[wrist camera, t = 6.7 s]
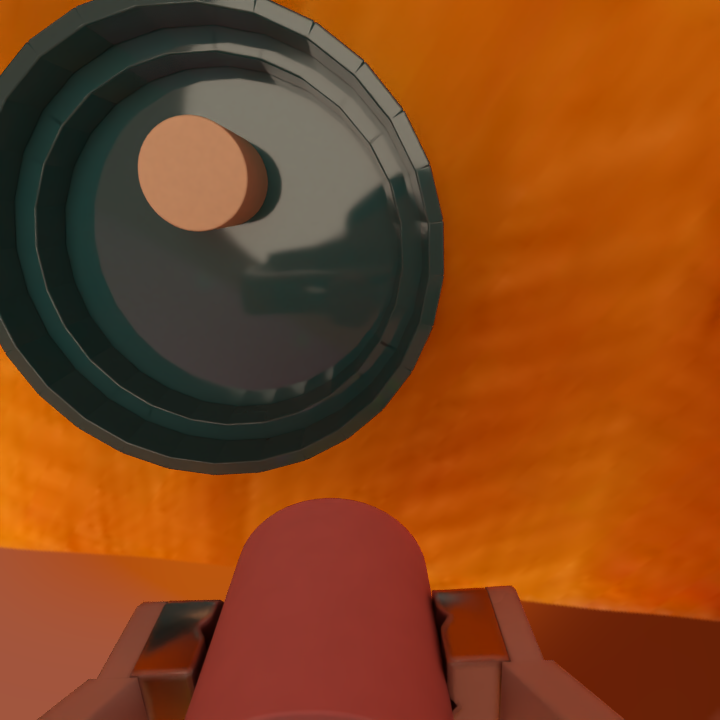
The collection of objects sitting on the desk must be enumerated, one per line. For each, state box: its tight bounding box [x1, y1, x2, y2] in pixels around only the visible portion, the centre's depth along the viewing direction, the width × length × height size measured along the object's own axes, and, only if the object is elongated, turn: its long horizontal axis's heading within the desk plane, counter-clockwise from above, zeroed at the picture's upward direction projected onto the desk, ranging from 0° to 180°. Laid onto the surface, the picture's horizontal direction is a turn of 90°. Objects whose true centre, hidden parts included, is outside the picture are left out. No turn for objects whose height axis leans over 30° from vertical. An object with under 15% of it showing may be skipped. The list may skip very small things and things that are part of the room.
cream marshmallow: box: [138, 115, 268, 231], centre depth 20 cm, size 4×4×4 cm
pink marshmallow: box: [185, 498, 454, 720], centre depth 8 cm, size 4×4×4 cm
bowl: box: [0, 0, 444, 475], centre depth 21 cm, size 18×18×5 cm
